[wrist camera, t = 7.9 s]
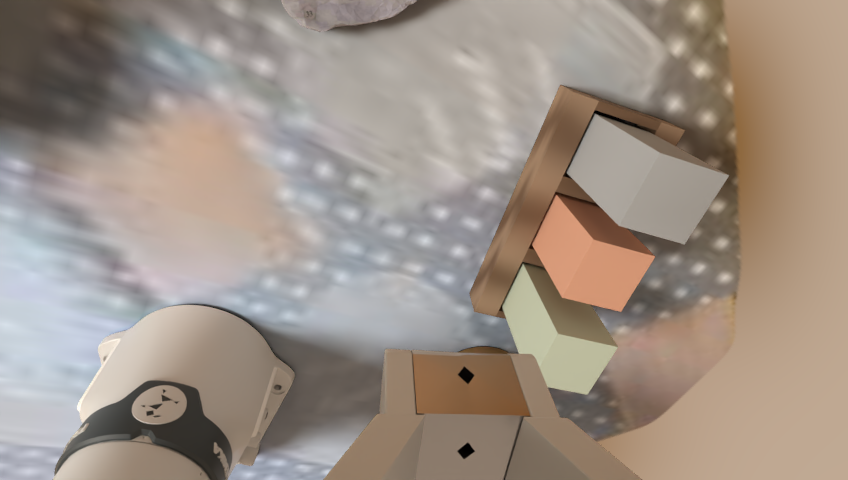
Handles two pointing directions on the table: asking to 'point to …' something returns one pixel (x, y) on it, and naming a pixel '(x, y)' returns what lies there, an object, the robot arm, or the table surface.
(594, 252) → the terracotta block
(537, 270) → the sage block
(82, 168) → the table surface
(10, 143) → the table surface
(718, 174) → the slate block
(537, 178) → the walnut rack
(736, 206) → the table surface
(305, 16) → the stone block
